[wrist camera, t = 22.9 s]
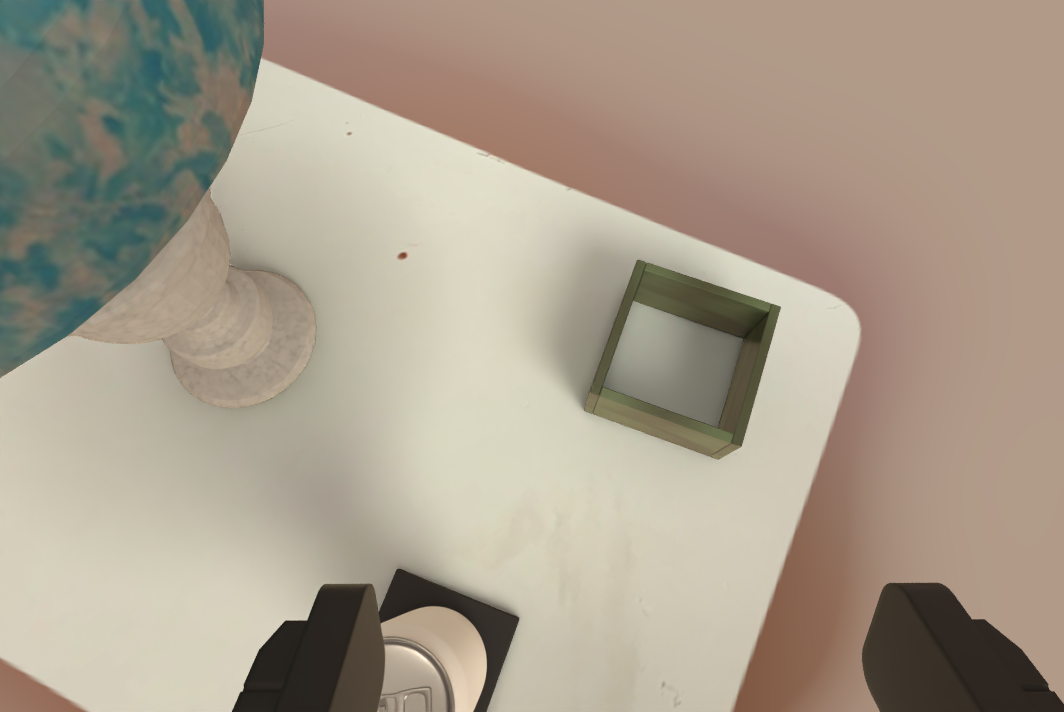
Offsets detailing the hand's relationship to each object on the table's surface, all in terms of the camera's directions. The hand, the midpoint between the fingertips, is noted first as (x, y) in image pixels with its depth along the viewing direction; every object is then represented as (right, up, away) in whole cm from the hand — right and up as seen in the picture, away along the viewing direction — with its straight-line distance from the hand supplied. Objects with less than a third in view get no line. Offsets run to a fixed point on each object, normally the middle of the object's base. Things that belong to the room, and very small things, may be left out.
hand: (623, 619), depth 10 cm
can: (-7, -14, +27) cm, 32 cm away
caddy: (+8, +3, +33) cm, 34 cm away
